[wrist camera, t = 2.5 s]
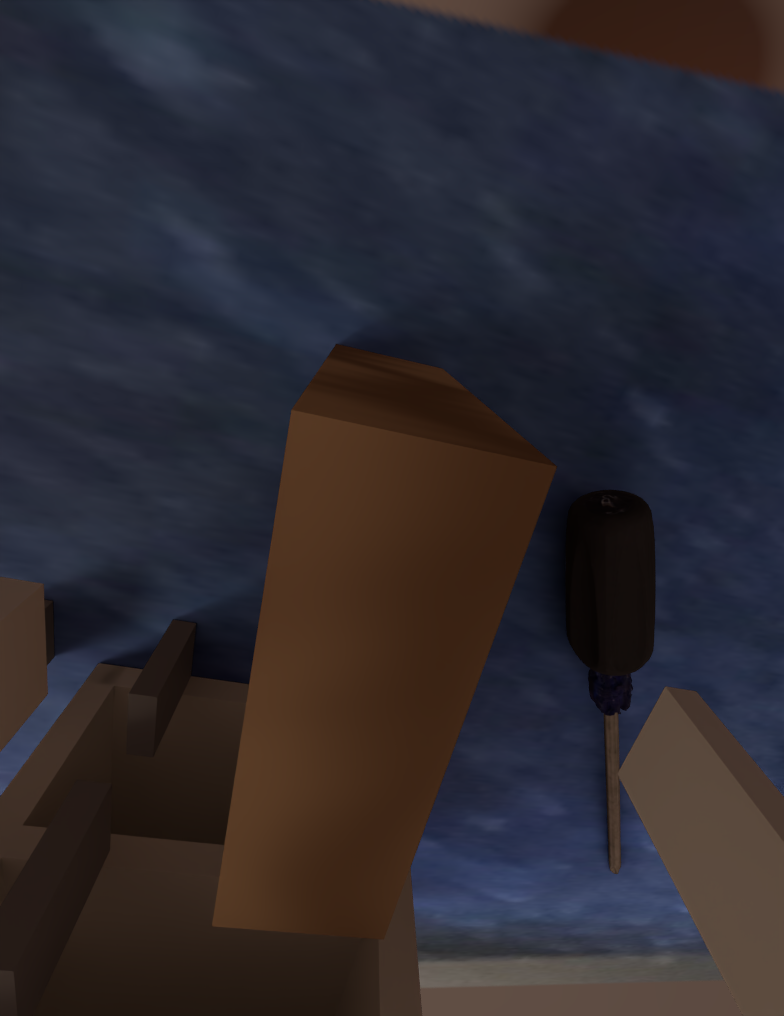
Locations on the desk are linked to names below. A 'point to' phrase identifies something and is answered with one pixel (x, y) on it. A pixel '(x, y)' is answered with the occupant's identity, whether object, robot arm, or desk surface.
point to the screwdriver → (611, 613)
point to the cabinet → (159, 867)
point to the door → (369, 637)
